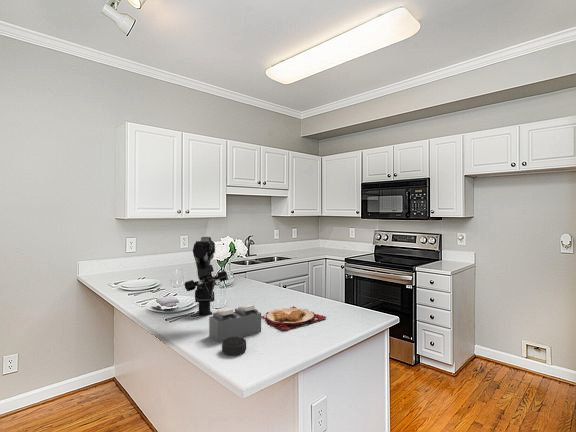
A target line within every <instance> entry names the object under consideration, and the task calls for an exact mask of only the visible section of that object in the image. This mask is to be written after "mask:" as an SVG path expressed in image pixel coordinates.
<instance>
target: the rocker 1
mask: <svg viewBox="0 0 576 432" xmlns="http://www.w3.org/2000/svg"><path fill="white" fill-rule="evenodd" d="M233 312H234V309H223V310H217V311H216V312H215V313H217V314H219V315H220V316H223V315H228V314H233Z"/></svg>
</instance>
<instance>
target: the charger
mask: <svg viewBox="0 0 576 432" xmlns="http://www.w3.org/2000/svg"><path fill="white" fill-rule="evenodd" d="M156 302H157V303H159V304H160V305H161V306H166V307H173V306H176V305H177V304H176V303H179V304H180V300H179V299H178V298H176V297H175V296H174V295H167V296H162V297H157V298H156V299H155V303H156Z"/></svg>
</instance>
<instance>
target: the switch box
mask: <svg viewBox="0 0 576 432" xmlns="http://www.w3.org/2000/svg"><path fill="white" fill-rule="evenodd" d="M261 316H262V312H260V311H258V309H257V308H255V309H254V310H249V311H241V310H239V309H238V308H234V311H233V314H228V315H223V316H220V315H219V314H217V313H216V312H212V316H209V318H208V319H209V321H208V325H209V326H208V327H209V328H208V329H209V333H208V336H209V337H210V338H211V339H212V340H214V341H215V342H216V343H222V342H223V341H224V340H225V339H227V338H230V337H241V338H243V337H245V336H248V335H254V334H258V333H261V332H262V318H261Z"/></svg>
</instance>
